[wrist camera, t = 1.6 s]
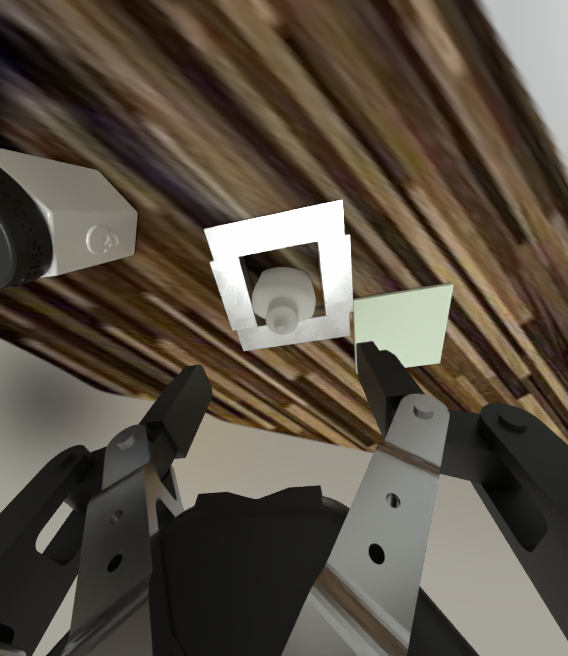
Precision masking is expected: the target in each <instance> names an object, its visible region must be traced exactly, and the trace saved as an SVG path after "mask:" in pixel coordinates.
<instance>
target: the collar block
mask: <svg viewBox="0 0 568 656" xmlns="http://www.w3.org/2000/svg"><path fill="white" fill-rule="evenodd" d="M204 231H205V234H206V237H207V240H208V243H209V246H210V249H211V253H212V256H213V259H214V260H212V261H211V262H210V265H211V268H212V271H213V274H214V277H215V280H216V283H217V285H218V288H219V291H220V294H221V297H222V300H223V303H224V306H225V309H226V312H227V315H228V318H229V321H230V324H231V327H232V330H237V332H238V335H239V338H240V342H241V345H242V348H243V351H247V350H254V349H261V348H268V347H275V346H281V345H288V344H295V343H302V342H309V341H316V340H323V339H329V338H336V337H343V336H350V324H349V312H353V292H352V269H351V247H350V235H349V234H346V233H344V217H343V200H339V201H334V202H329V203H325V204H320V205H315V206H311V207H306V208H301V209H297V210H292V211H287V212H282V213H278V214H273V215H268V216H264V217H259V218H254V219H250V220H245V221H240V222H236V223H231V224H226V225H222V226H217V227H212V228H207V229H204ZM315 241H316V247H317V256H318V265H319V274H320V283H321V291H322V300H323V308H317V309H314V314H313V316H312V317H311V318H309V319H307V320H304V321H301V322H298V325H297V328H296V329H295V330H294V331H293V332H292V333H290V334H287V335H278V334H275V333H273V332H272V331H271V330H270V329H269V328H268V326H267V325H266V319H264V318H262V317H261V318H260V316H258V315H257V314H255V313H254V312H253V309H252V293H253V289H252V285H251V282H250V278H249V274H248V270H247V266H246V263H245V259H244V255H249V254H254V253H259V252H264V251H269V250H274V249H280V248H285V247H290V246H295V245H300V244H305V243H310V242H315Z"/></svg>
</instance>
